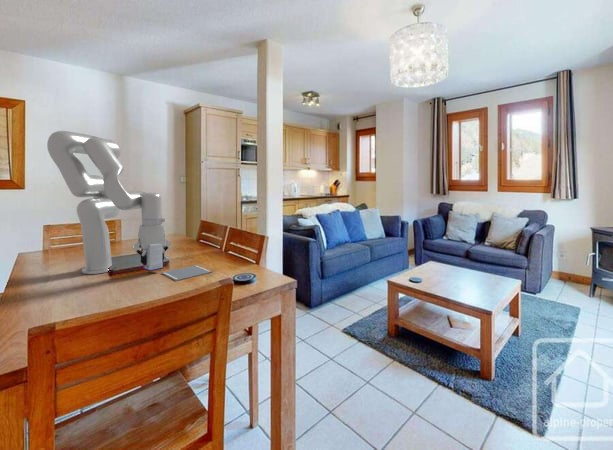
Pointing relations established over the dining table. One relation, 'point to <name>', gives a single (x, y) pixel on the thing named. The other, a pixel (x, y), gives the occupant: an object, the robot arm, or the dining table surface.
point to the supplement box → (153, 257)
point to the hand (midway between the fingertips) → (152, 262)
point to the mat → (186, 272)
